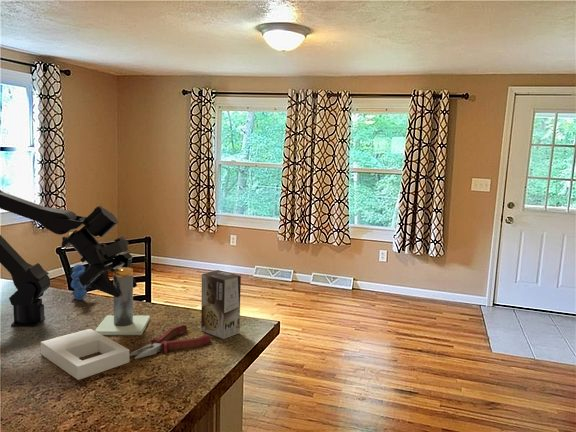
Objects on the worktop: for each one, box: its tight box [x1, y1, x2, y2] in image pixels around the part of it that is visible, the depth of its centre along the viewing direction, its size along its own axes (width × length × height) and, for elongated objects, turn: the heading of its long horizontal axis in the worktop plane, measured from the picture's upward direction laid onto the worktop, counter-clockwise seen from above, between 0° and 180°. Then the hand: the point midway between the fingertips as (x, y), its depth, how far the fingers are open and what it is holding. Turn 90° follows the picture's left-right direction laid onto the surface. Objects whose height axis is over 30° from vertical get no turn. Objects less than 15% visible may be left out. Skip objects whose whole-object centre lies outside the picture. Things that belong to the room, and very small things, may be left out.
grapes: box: [70, 263, 88, 301], centre depth 149 cm, size 12×7×12 cm, turn 37°
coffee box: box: [200, 269, 242, 340], centre depth 127 cm, size 9×6×16 cm
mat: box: [94, 314, 151, 336], centre depth 129 cm, size 12×12×1 cm
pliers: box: [129, 324, 211, 360], centre depth 117 cm, size 12×20×3 cm, turn 142°
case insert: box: [40, 328, 130, 381], centre depth 109 cm, size 18×12×3 cm, turn 50°
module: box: [112, 267, 134, 326], centre depth 128 cm, size 5×5×15 cm
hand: (127, 291), depth 128 cm, fingers open, 9 cm apart
